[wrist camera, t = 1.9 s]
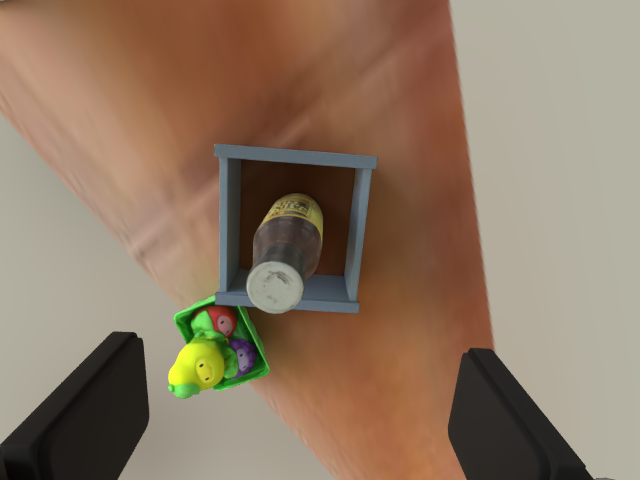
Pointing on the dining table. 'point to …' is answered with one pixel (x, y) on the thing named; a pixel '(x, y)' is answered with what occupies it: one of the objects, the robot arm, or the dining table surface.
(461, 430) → the robot arm
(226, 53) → the dining table surface
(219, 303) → the blue wooden frame
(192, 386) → the fruit basket
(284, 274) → the sauce bottle
